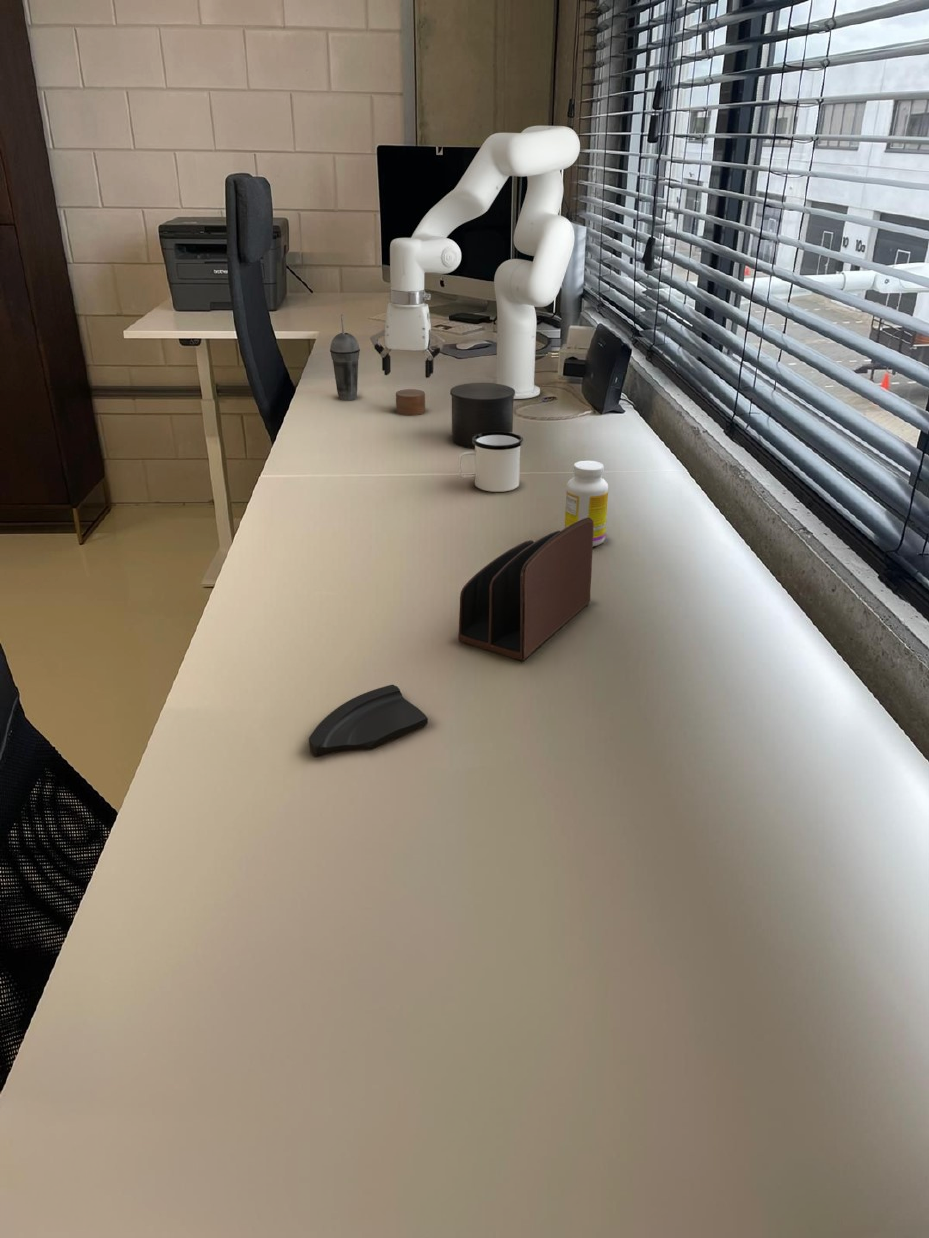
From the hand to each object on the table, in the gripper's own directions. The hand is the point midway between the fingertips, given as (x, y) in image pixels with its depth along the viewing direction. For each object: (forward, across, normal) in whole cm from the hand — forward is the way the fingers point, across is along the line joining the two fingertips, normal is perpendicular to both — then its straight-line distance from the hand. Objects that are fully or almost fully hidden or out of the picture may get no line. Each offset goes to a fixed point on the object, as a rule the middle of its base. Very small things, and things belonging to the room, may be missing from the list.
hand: (407, 375), depth 218 cm
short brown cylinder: (+8, -1, 0) cm, 9 cm away
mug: (+9, -27, +46) cm, 54 cm away
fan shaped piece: (+10, -25, +128) cm, 130 cm away
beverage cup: (+9, +17, -10) cm, 22 cm away
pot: (+8, -21, +18) cm, 29 cm away
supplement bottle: (+9, -46, +70) cm, 84 cm away
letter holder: (+10, -40, +100) cm, 108 cm away
